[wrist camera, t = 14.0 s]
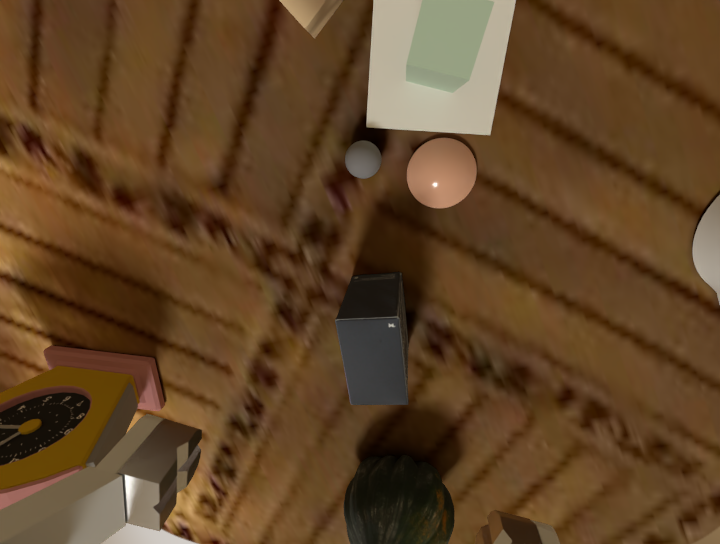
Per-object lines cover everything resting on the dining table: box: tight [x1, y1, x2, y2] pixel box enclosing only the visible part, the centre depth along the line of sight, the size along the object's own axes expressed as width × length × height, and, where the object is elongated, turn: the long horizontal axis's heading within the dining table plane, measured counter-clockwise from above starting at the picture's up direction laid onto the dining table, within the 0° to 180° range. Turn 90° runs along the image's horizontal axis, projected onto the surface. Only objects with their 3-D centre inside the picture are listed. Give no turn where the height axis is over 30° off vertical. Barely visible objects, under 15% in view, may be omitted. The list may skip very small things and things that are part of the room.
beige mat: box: [366, 0, 516, 135], centre depth 31 cm, size 12×12×1 cm
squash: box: [344, 455, 454, 544], centre depth 47 cm, size 14×15×15 cm
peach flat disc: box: [407, 138, 477, 208], centre depth 36 cm, size 7×7×1 cm
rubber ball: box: [345, 141, 381, 178], centre depth 34 cm, size 4×4×4 cm
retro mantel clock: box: [0, 346, 165, 510], centre depth 42 cm, size 22×9×22 cm, turn 87°
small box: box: [335, 272, 409, 405], centre depth 38 cm, size 11×6×10 cm, turn 8°
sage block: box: [406, 0, 494, 93], centre depth 27 cm, size 4×4×9 cm
